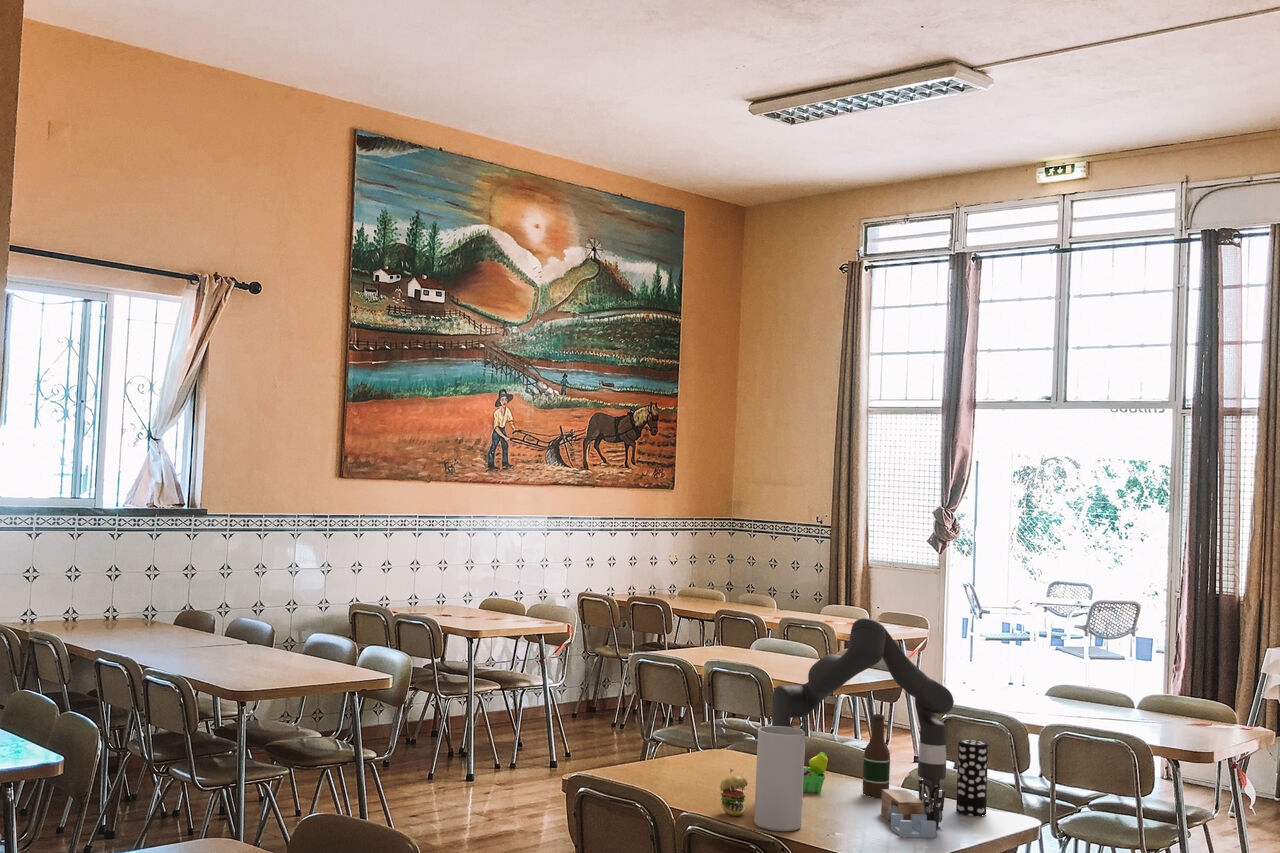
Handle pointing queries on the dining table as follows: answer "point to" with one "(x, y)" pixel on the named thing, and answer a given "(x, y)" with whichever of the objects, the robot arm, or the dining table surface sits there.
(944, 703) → the robot arm
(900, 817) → the cradle
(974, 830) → the dining table surface
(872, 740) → the beer bottle
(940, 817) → the axle
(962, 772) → the spotted tube
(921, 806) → the beam
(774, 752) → the cylinder vase
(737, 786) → the hamburger
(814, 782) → the fruit basket
